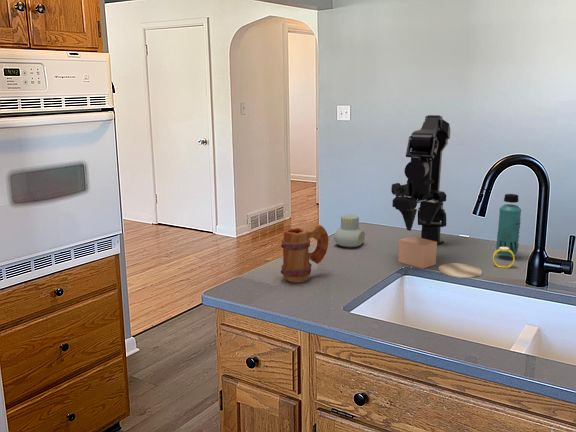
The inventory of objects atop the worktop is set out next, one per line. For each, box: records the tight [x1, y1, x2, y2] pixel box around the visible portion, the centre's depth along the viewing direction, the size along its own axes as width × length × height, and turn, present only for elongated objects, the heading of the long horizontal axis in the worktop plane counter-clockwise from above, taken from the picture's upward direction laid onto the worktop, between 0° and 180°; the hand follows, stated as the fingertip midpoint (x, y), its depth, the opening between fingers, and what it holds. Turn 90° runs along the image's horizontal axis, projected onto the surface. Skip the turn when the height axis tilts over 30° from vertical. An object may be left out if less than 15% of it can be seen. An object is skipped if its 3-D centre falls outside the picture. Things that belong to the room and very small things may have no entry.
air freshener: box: [333, 214, 366, 248], centre depth 193 cm, size 11×8×10 cm
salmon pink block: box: [397, 235, 438, 269], centre depth 174 cm, size 6×9×7 cm
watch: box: [492, 247, 516, 269], centre depth 170 cm, size 6×3×6 cm, turn 71°
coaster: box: [438, 262, 483, 279], centre depth 167 cm, size 12×12×1 cm
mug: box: [280, 223, 329, 284], centre depth 160 cm, size 15×8×15 cm, turn 118°
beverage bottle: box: [495, 193, 522, 257], centre depth 177 cm, size 6×7×20 cm
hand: (418, 227), depth 172 cm, fingers open, 9 cm apart
